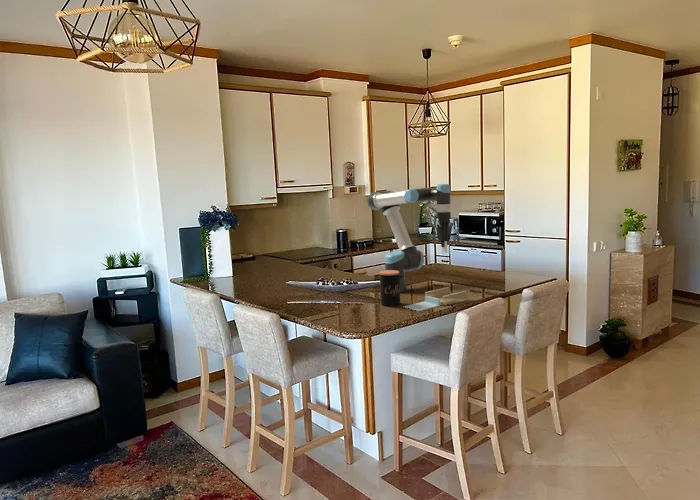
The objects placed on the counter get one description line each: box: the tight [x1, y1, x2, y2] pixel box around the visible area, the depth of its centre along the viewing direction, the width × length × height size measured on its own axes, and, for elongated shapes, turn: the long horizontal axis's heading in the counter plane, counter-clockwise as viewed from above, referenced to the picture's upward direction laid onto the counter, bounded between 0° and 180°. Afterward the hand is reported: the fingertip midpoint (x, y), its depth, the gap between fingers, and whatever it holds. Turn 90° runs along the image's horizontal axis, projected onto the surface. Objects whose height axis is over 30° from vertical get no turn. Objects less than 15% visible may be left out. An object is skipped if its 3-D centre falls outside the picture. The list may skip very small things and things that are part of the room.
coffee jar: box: [379, 270, 401, 307], centre depth 291 cm, size 11×11×18 cm
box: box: [424, 286, 468, 306], centre depth 295 cm, size 14×18×5 cm
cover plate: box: [403, 295, 441, 312], centre depth 285 cm, size 12×17×4 cm
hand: (444, 252), depth 307 cm, fingers closed
